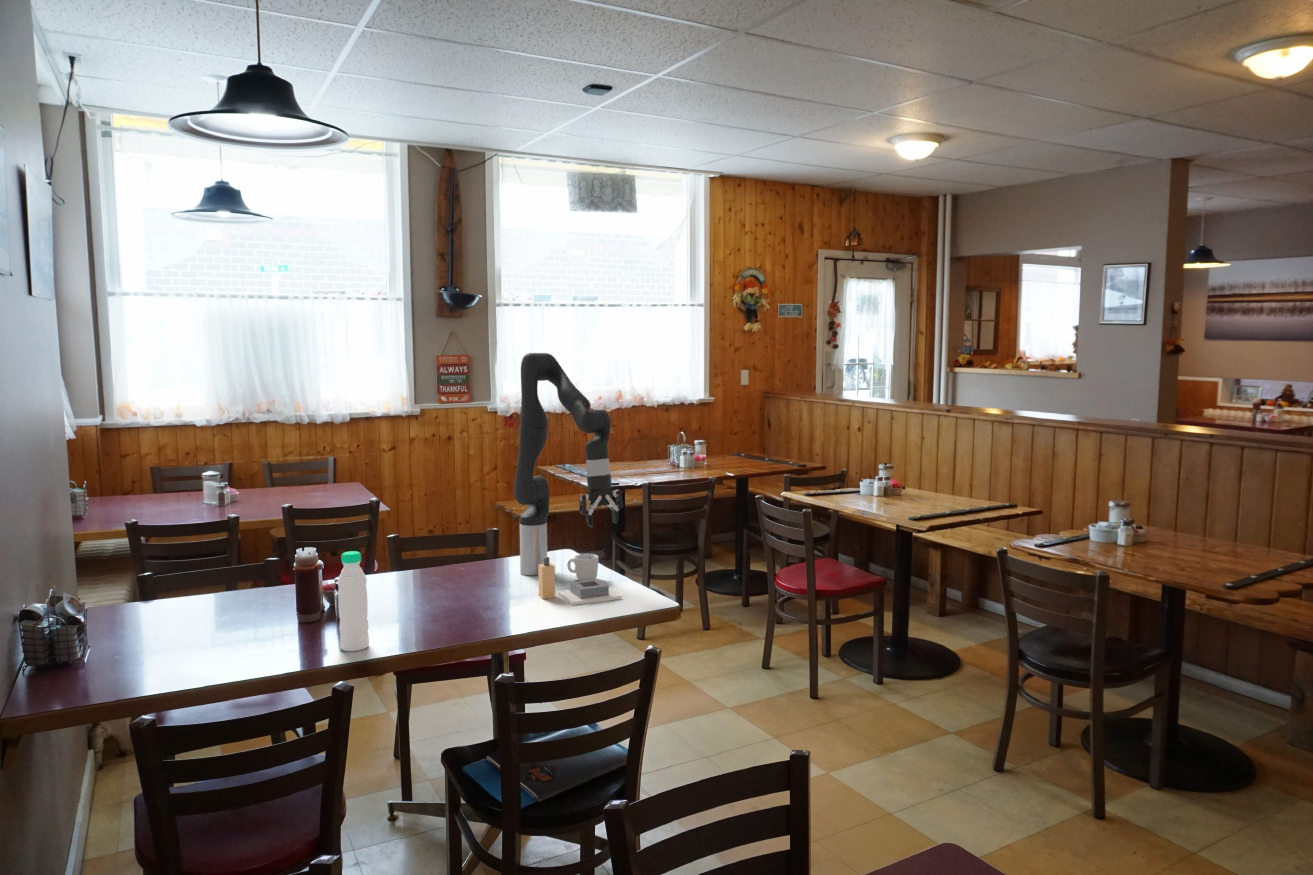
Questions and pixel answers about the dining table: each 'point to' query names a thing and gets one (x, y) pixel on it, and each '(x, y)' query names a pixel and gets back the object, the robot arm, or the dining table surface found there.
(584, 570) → the cup
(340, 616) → the water bottle
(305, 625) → the dining table surface
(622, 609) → the dining table surface
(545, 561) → the light wood tall block
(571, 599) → the socket
